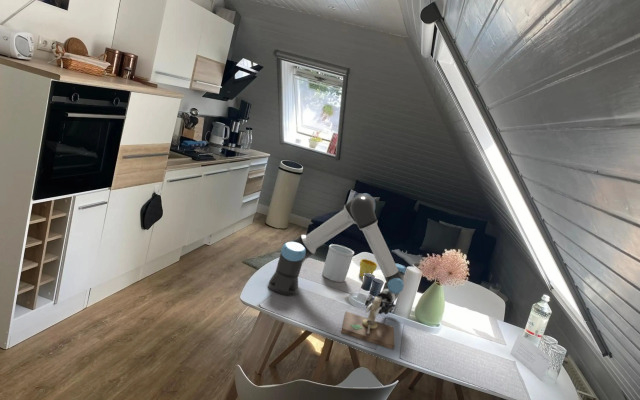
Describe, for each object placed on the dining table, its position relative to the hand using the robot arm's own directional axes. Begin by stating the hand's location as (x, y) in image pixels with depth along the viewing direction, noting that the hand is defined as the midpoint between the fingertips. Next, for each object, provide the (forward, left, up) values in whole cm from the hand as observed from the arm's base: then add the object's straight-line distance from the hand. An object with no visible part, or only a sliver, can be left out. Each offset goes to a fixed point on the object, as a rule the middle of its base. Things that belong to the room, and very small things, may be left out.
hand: (371, 311), depth 225 cm
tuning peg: (+1, +1, -8) cm, 9 cm away
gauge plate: (+1, +3, -11) cm, 12 cm away
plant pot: (-4, +80, -11) cm, 81 cm away
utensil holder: (-22, +62, -11) cm, 67 cm away
